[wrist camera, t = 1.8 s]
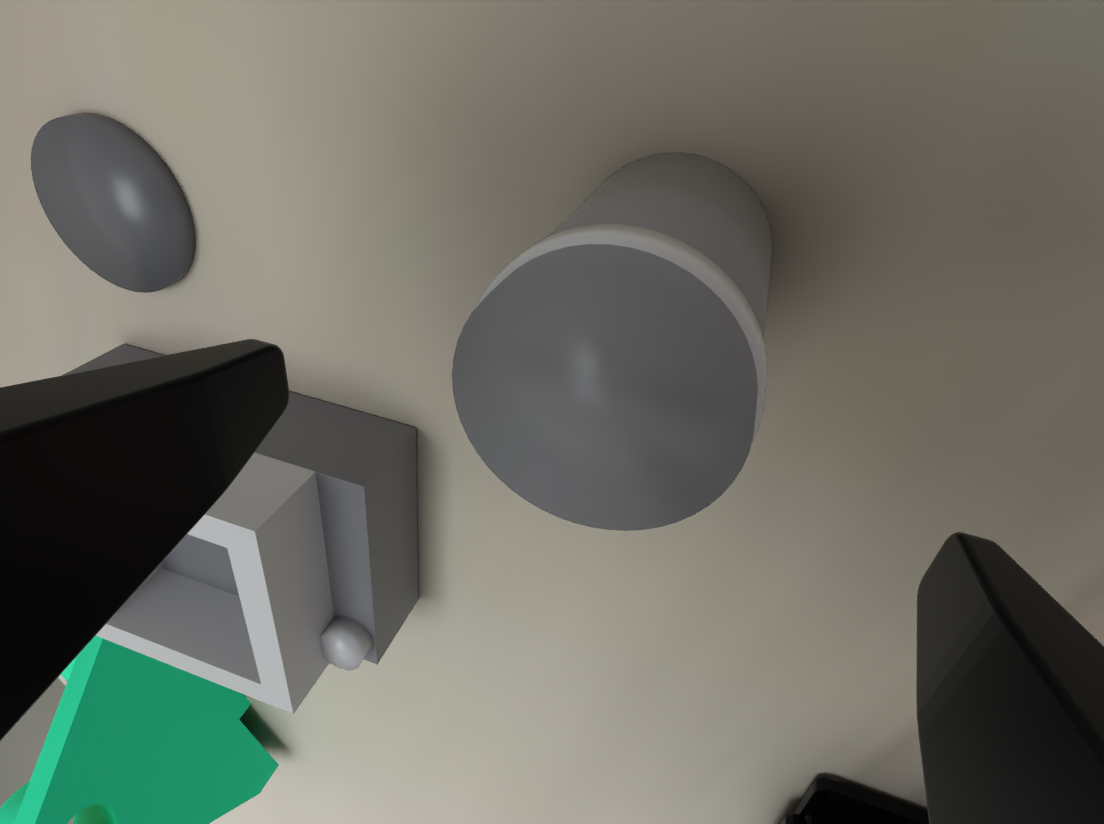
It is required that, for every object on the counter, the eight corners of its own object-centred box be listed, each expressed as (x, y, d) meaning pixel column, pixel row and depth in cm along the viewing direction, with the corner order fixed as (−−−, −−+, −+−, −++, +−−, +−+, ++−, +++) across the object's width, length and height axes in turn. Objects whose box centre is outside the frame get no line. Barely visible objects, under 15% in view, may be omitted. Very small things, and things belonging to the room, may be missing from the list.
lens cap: (187, 133, 18) (164, 139, 17) (215, 300, 20) (197, 310, 20) (34, 94, 18) (7, 98, 18) (82, 260, 21) (60, 269, 21)
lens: (806, 169, 13) (812, 298, 8) (744, 365, 16) (714, 570, 10) (588, 130, 14) (448, 219, 8) (563, 321, 17) (444, 487, 11)
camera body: (416, 427, 20) (308, 549, 16) (418, 598, 25) (335, 730, 20) (123, 343, 22) (-45, 429, 18) (175, 515, 27) (51, 618, 22)
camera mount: (67, 593, 34) (-167, 784, 26) (154, 583, 31) (-83, 799, 22) (202, 740, 39) (41, 941, 31) (291, 746, 35) (137, 974, 27)
